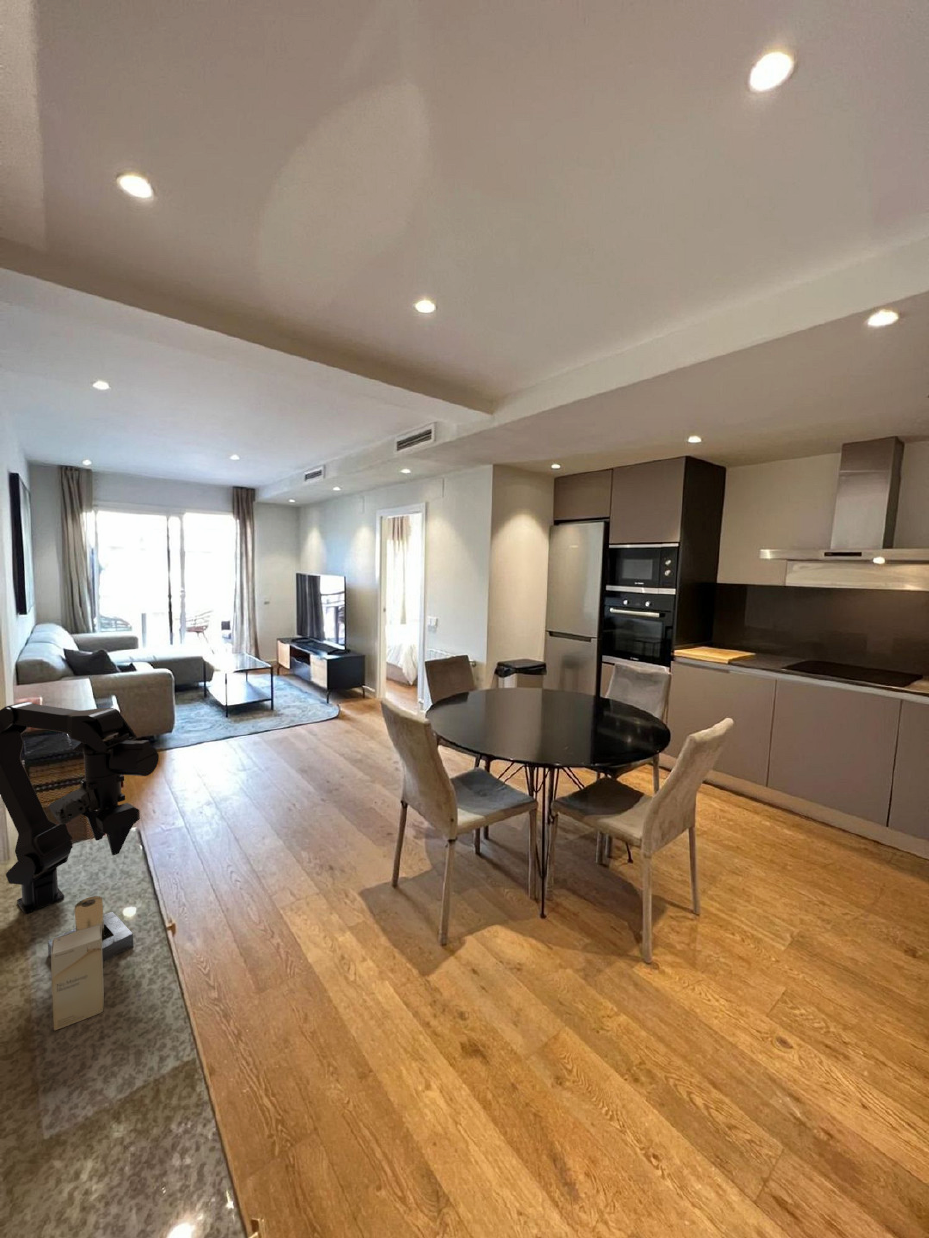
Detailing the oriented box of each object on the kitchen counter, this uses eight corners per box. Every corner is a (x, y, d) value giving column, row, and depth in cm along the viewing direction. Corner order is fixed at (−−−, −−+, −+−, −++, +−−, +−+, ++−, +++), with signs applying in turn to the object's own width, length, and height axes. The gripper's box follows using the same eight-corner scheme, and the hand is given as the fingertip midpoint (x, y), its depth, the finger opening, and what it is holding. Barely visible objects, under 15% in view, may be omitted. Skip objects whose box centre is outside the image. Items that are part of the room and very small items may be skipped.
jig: (48, 953, 90) (47, 940, 89) (112, 923, 98) (112, 911, 97) (66, 981, 84) (65, 967, 83) (133, 946, 92) (132, 933, 91)
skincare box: (53, 1032, 74) (48, 956, 73) (56, 1011, 78) (51, 938, 77) (105, 1011, 78) (101, 938, 77) (105, 992, 81) (101, 922, 80)
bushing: (74, 951, 90) (71, 904, 89) (100, 938, 93) (97, 893, 93) (81, 961, 88) (78, 913, 87) (108, 948, 91) (105, 901, 90)
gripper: (38, 773, 99) (43, 848, 100) (68, 799, 88) (73, 883, 89) (103, 757, 108) (107, 826, 109) (138, 778, 97) (142, 855, 98)
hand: (107, 846), depth 101 cm, fingers open, 9 cm apart
